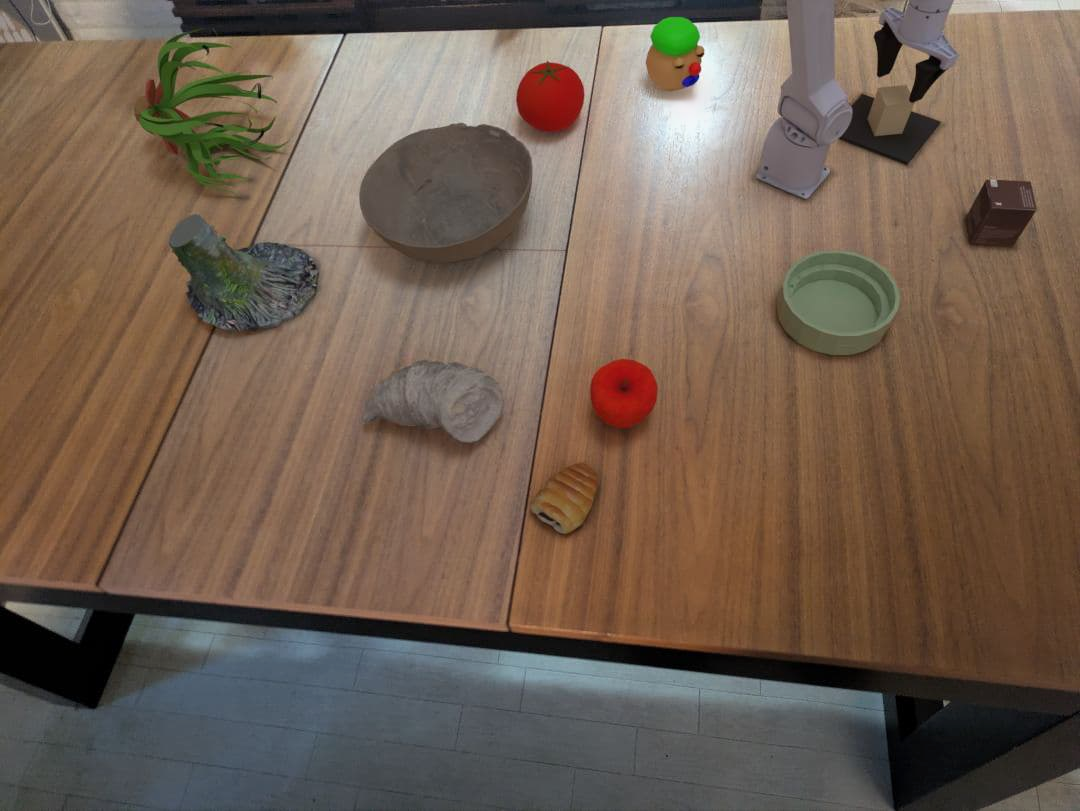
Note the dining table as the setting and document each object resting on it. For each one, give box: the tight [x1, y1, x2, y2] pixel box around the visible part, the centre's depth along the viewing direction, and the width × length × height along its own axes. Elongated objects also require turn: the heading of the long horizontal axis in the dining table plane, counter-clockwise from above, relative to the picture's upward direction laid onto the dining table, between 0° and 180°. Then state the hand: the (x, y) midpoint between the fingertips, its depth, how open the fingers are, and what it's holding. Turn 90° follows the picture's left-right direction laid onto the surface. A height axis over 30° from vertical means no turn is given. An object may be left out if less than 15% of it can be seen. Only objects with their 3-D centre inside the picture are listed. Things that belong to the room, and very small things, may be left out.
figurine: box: [645, 16, 706, 92], centre depth 126 cm, size 11×10×12 cm
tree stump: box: [168, 213, 320, 332], centre depth 109 cm, size 18×20×18 cm
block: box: [868, 84, 916, 136], centre depth 117 cm, size 4×4×6 cm
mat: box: [838, 93, 941, 166], centre depth 119 cm, size 14×12×1 cm
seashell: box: [361, 359, 505, 444], centre depth 94 cm, size 16×15×10 cm
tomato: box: [515, 59, 585, 133], centre depth 125 cm, size 11×12×10 cm
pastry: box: [530, 461, 599, 535], centre depth 89 cm, size 9×7×4 cm
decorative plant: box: [133, 28, 290, 197], centre depth 125 cm, size 26×25×30 cm
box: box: [965, 179, 1038, 247], centre depth 103 cm, size 6×6×7 cm
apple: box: [589, 358, 659, 429], centre depth 93 cm, size 9×9×8 cm
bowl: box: [358, 122, 534, 264], centre depth 114 cm, size 28×28×10 cm
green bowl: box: [776, 249, 901, 356], centre depth 99 cm, size 15×15×5 cm
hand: (898, 87), depth 113 cm, fingers open, 7 cm apart
